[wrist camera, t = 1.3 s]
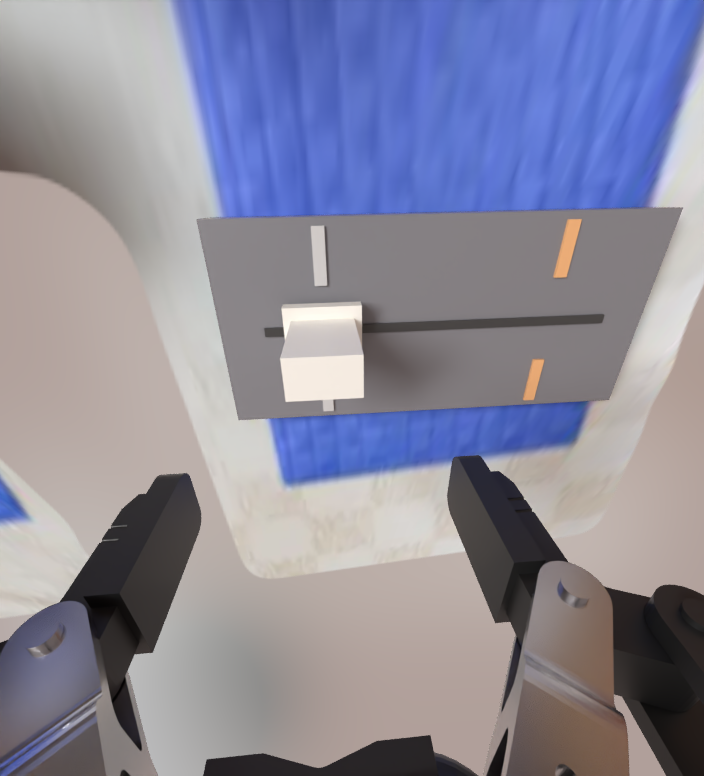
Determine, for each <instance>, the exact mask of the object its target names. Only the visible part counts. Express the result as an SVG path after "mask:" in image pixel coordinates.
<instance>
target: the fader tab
mask: <svg viewBox="0 0 704 776" xmlns="http://www.w3.org/2000/svg"><path fill="white" fill-rule="evenodd" d="M281 310H282V319H283V327H284V335H285V343H284V346H283V350H282V354H281V357H280V362H281V370H282V378H283V385H284V393H285V401H286V402H294V401H313V400H332V399H351V398H364V354H363V351H362V305H361V302H335V303H308V304H283V306H282V308H281Z"/></svg>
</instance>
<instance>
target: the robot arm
mask: <svg viewBox="0 0 704 776" xmlns="http://www.w3.org/2000/svg"><path fill="white" fill-rule="evenodd" d="M447 498H448V506H449V511H450V514H451V516H452V519H453V521H454V524H455V526H456V529H457V531H458V533H459V536H460V538H461V541H462V543H463V546H464V548H465V550H466V553H467V555H468V558H469V560H470V562H471V565H472V567H473V570H474V572H475V575H476V577H477V579H478V582H479V584H480V587H481V589H482V592H483V594H484V596H485V599H486V601H487V604H488V606H489V609H490V611H491V613H492V616H493V618H494V621H495V623H501V622H511V625H512V627H513V629H514V631H515V633H516V636H515V639H514V643H513V647H512V652H511V657H510V661H509V666H508V671H507V675H506V681H505V685H504V689H503V694H502V699H501V704H500V708H499V713H498V717H497V722H496V725H495V729H494V732H493V736H492V739H491V743H490V747H489V751H488V756H487V760H486V764H485V768H484V773H483V776H629V753H628V752H629V751H628V733H627V726H626V722H625V719H624V716H623V714H622V713H620V712H619V711H617V710H616V708H615V704H614V694H615V695H619V696H622V697H623V699H624V701H625V703H626V704H627V706H628V708H629V710H630V711H631V713H632V715H633V717H634V718H635V720H636V722H637V724H638V726H639V728H640V729H641V731H642V733H643V735H644V737H645V738H646V740H647V742H648V744H649V745H650V747H651V749H652V751H653V752H654V754H655V756H656V758H657V760H658V761H659V763H660V765H661V767H662V769H663V770H664V772H665V774H666V776H704V595H702V594H700V593H698V592H696V591H694V590H691V589H688V588H685V587H682V586H677V585H663V586H660V587H659V588H657V589H656V591H655V592H654V594H653V595H652V597H651V598H650V597H646V596H641V595H637V594H632V593H628V592H623V591H619V590H614V589H611V588H607V587H604V586H603V585H602V584H601V582H599V580H598V579H597V578H595V577H594V576H593V575H592V574H591V573H589V572H588V571H586V570H585V569H583V568H581V567H579V566H577V565H575V564H572V563H569V562H568V561H567V559H566V558H565V557H564V555H563V554H562V552H561V551H560V549H559V548H558V547H557V545H556V544H555V542H554V541H553V539H552V538H551V536H550V535H549V533H548V532H547V530H546V529H545V528H544V526H543V525H542V523H541V522H540V520H539V519H538V517H537V516H536V514H535V513H534V512H532V509H531V507H530V506H529V504H528V503H527V501H526V500H524V497H523V496H522V494H521V493H520V491H519V490H518V488H517V487H516V485H515V484H514V483H513V482H512V481H511V480H510V479H508V478H507V477H506V476H504V475H503V474H502V473H501V472H499V471H494V472H491V471H490V470H489V468H488V467H487V465H486V463H485V462H484V460H483V459H482V457H481V456H479V455H476V456H460V457H454V458H453V461H452V466H451V473H450V480H449V487H448V494H447ZM200 525H201V510H200V507H199V504H198V500H197V497H196V494H195V491H194V488H193V485H192V481H191V478H190V476H189V475H188V474H187V473H183V474H167V475H159V476H158V477H157V478H156V479H155V480H154V482H153V484H152V485H151V487H150V489H149V490H148V492H147V493H146V494H139V495H138V496H137V497H136V498H134V499H133V500H132V501H131V502H130V503H128V504H127V505H126V506H125V507H124V508H123V509H122V510H121V512H120V513H119V515H118V516H117V518H116V519H115V520H114V522H113V523H112V525H111V529H108V531H107V532H106V534H105V535H104V537H103V539H102V542H101V543H99V545H98V546H97V548H96V549H95V551H94V552H93V553H92V555H91V556H90V558H89V559H88V561H87V562H86V564H85V565H84V567H83V568H82V570H81V571H80V573H79V574H78V576H77V577H76V579H75V580H74V582H73V583H72V585H71V586H70V588H69V589H68V591H67V592H66V594H65V595H64V597H63V598H62V600H61V601H60V602H59V603H57V604H54V605H51V606H49V607H47V608H45V609H43V610H41V611H40V612H38V613H36V614H35V615H34V616H32V617H31V618H29V619H28V620H27V621H26V622H25V623H23V624H22V625H21V626H20V627H19V628H18V629H17V630H16V631H15V632H14V634H13V635H12V636H11V637H10V638H9V640H6V641H4V642H1V643H0V776H158V774H157V772H156V769H155V767H154V765H153V763H152V760H151V757H150V754H149V751H148V747H147V743H146V739H145V735H144V731H143V727H142V723H141V719H140V715H139V711H138V708H137V703H136V700H135V695H134V692H133V688H132V684H131V680H130V676H129V673H128V672H127V671H128V668H129V666H130V663H131V661H132V659H133V656H134V654H141V653H142V654H143V653H152V652H153V650H154V648H155V645H156V643H157V640H158V637H159V635H160V632H161V630H162V627H163V624H164V621H165V619H166V617H167V614H168V611H169V609H170V606H171V603H172V600H173V598H174V596H175V593H176V590H177V588H178V585H179V583H180V580H181V577H182V575H183V572H184V570H185V567H186V564H187V561H188V559H189V556H190V554H191V551H192V549H193V546H194V543H195V541H196V538H197V536H198V533H199V530H200ZM203 776H478V775H477V774H475V773H474V772H473V771H472V770H470V769H469V768H467V767H465V766H464V765H462V764H461V763H459V762H457V761H456V760H453V759H451V758H449V757H447V756H444V755H442V754H438V753H435V752H434V751H433V746H432V741H431V736H430V735H428V736H419V737H410V738H401V739H391V740H383V741H376V742H374V743H372V744H370V745H368V746H366V747H364V748H362V749H360V750H358V751H356V752H354V753H352V754H350V755H348V756H346V757H344V758H342V759H340V760H338V761H336V762H334V763H332V764H330V765H328V766H325V767H323V768H314V767H311V766H307V765H303V764H299V763H296V762H292V761H289V760H285V759H281V758H278V757H274V756H271V755H267V754H253V755H244V756H235V757H226V758H216V759H208V760H207V761H206V765H205V770H204V775H203Z"/></svg>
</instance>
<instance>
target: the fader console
mask: <svg viewBox="0 0 704 776" xmlns="http://www.w3.org/2000/svg"><path fill="white" fill-rule="evenodd" d="M682 209H683V208H674V207H631V208H589V209H547V210H506V211H464V212H423V213H381V214H339V215H298V216H256V217H214V218H204V219H197V224H198V229H199V233H200V238H201V243H202V248H203V253H204V257H205V262H206V267H207V272H208V276H209V281H210V286H211V291H212V295H213V300H214V305H215V310H216V314H217V319H218V324H219V329H220V334H221V338H222V343H223V348H224V353H225V357H226V362H227V367H228V372H229V376H230V381H231V386H232V391H233V395H234V400H235V405H236V410H237V415H238V419H239V420H250V419H268V418H287V417H305V416H323V415H341V414H359V413H377V412H396V411H414V410H432V409H450V408H468V407H487V406H505V405H523V404H541V403H559V402H577V401H596V400H609V398H610V396H611V393H612V390H613V388H614V385H615V383H616V380H617V377H618V375H619V372H620V370H621V367H622V364H623V362H624V359H625V357H626V354H627V351H628V349H629V346H630V344H631V341H632V339H633V336H634V333H635V331H636V328H637V326H638V323H639V320H640V318H641V315H642V313H643V310H644V307H645V305H646V302H647V300H648V297H649V295H650V292H651V289H652V287H653V284H654V282H655V279H656V276H657V274H658V271H659V269H660V266H661V263H662V261H663V258H664V256H665V253H666V250H667V248H668V245H669V243H670V240H671V238H672V235H673V232H674V230H675V227H676V225H677V222H678V219H679V217H680V214H681V212H682ZM335 302H361V305H362V351H363V354H364V398H351V399H332V400H313V401H294V402H286V401H285V393H284V385H283V378H282V370H281V362H280V357H281V354H282V350H283V346H284V343H285V335H284V327H283V319H282V310H281V308H282V306H283V304H308V303H335Z"/></svg>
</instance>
